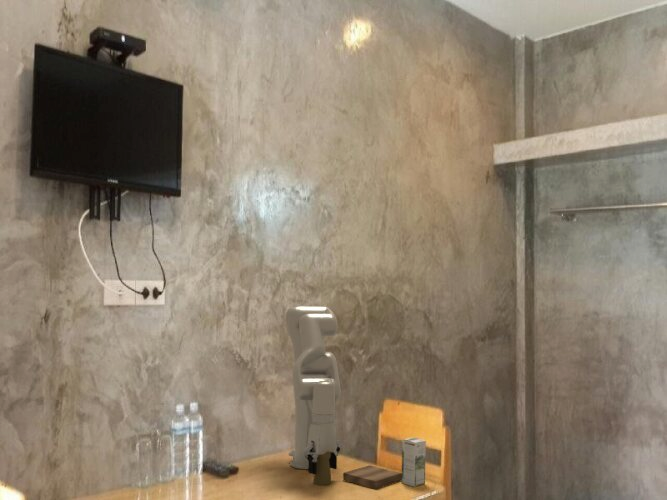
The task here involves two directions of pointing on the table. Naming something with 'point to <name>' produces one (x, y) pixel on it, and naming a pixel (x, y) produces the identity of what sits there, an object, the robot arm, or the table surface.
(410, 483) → the syrup box
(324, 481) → the cork
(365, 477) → the walnut base
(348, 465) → the table surface
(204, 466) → the table surface
